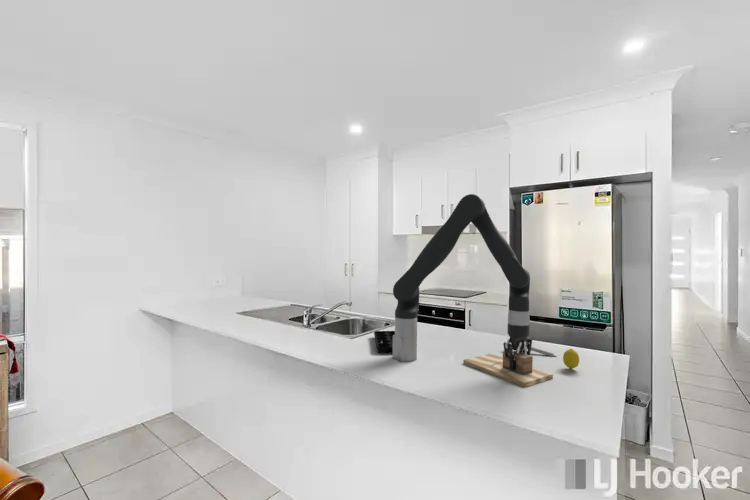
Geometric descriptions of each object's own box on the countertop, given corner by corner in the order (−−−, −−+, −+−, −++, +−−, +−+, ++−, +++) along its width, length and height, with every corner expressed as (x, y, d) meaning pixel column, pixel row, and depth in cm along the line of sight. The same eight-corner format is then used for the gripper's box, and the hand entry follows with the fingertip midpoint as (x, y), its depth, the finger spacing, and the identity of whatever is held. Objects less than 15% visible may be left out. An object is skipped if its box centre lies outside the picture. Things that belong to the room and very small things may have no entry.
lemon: (577, 367, 144) (578, 347, 144) (580, 372, 139) (580, 351, 139) (561, 366, 146) (562, 346, 146) (563, 370, 141) (564, 349, 141)
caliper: (506, 351, 167) (506, 337, 167) (506, 350, 168) (506, 336, 168) (556, 357, 158) (556, 342, 158) (556, 356, 159) (556, 342, 159)
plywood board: (524, 387, 124) (525, 382, 124) (463, 363, 148) (463, 359, 148) (552, 378, 133) (552, 374, 133) (490, 357, 156) (490, 353, 156)
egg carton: (379, 356, 157) (379, 347, 157) (363, 338, 186) (363, 331, 186) (418, 353, 161) (418, 345, 161) (396, 336, 190) (396, 329, 190)
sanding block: (532, 372, 134) (532, 356, 134) (523, 375, 131) (523, 358, 131) (511, 365, 141) (511, 349, 141) (502, 367, 139) (502, 351, 139)
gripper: (521, 318, 143) (521, 362, 143) (497, 322, 135) (496, 368, 135) (539, 322, 136) (538, 368, 137) (514, 326, 129) (514, 375, 129)
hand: (517, 368), depth 136 cm, fingers closed on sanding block, 5 cm apart
